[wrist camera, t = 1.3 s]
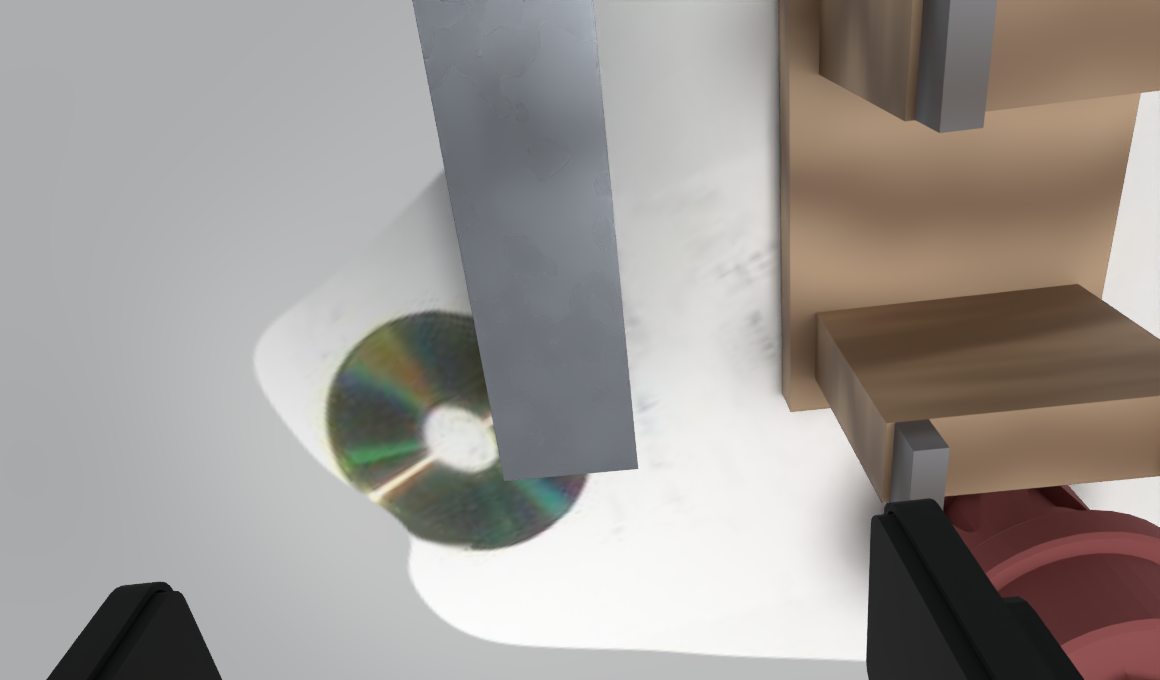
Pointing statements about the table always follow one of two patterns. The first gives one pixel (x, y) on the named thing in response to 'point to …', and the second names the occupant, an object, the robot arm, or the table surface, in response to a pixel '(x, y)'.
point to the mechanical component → (1072, 573)
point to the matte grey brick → (534, 226)
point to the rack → (965, 238)
